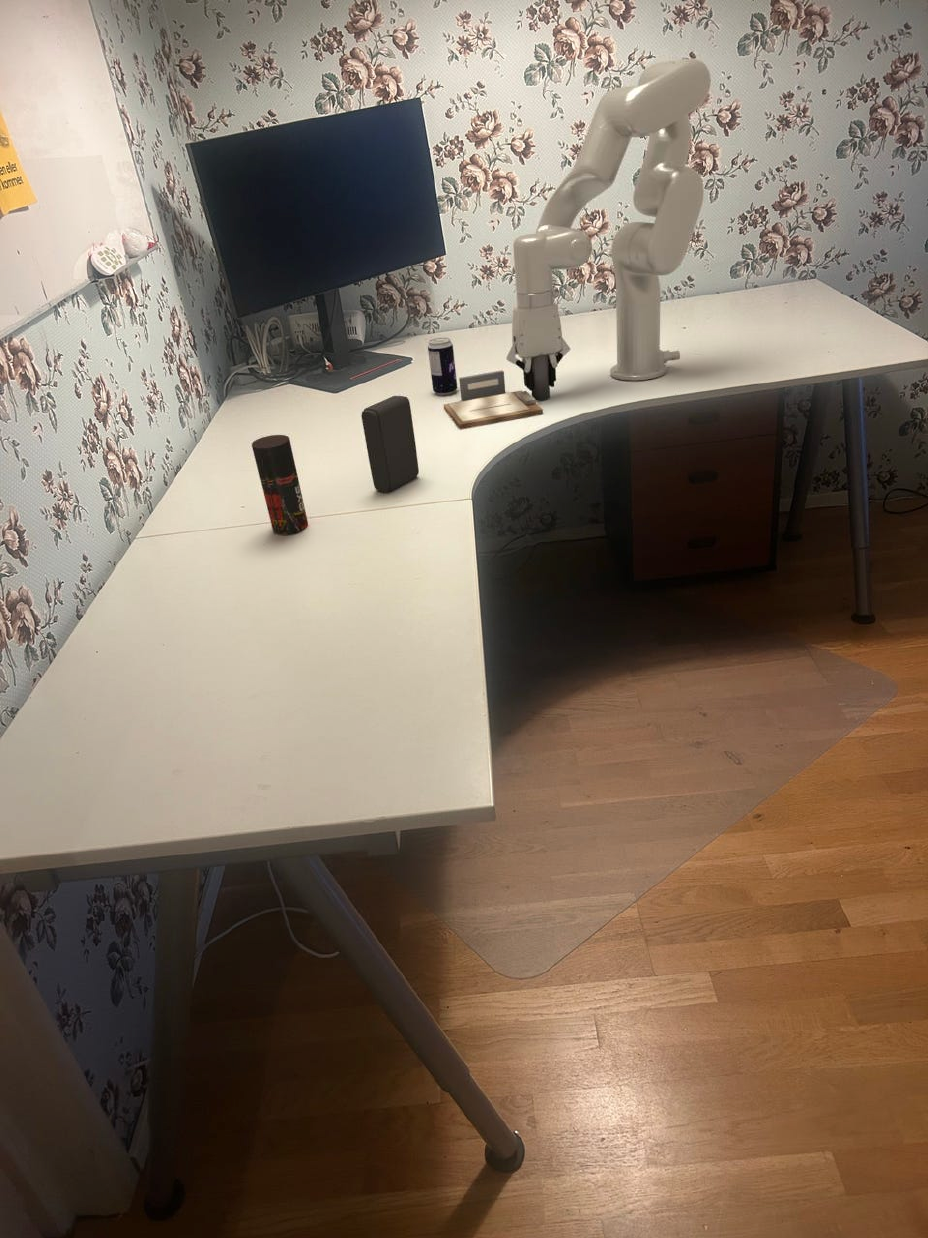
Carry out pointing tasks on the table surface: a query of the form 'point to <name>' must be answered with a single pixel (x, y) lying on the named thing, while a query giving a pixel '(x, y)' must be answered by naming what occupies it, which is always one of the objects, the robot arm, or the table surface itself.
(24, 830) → the table surface
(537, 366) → the marker
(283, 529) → the deodorant
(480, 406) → the clipboard
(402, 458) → the dark grey rounded block
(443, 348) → the beverage can
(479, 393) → the bar
